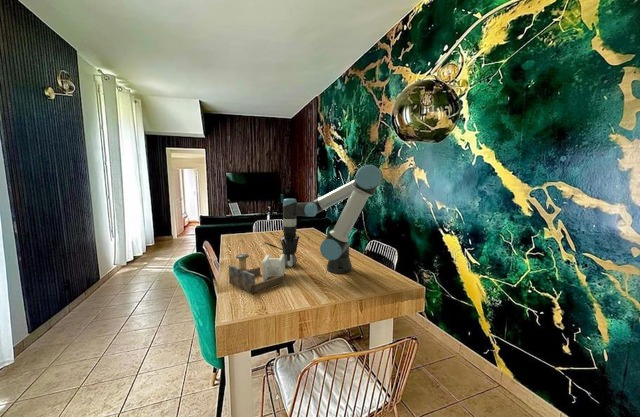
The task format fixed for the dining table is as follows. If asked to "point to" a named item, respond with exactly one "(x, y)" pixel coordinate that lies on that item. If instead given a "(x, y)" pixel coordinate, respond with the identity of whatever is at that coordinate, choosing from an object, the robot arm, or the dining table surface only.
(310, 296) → the dining table surface
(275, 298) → the dining table surface
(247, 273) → the notched bay
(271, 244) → the coffee pot
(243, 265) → the mushroom drawer knob
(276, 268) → the cable organizer
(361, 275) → the dining table surface
